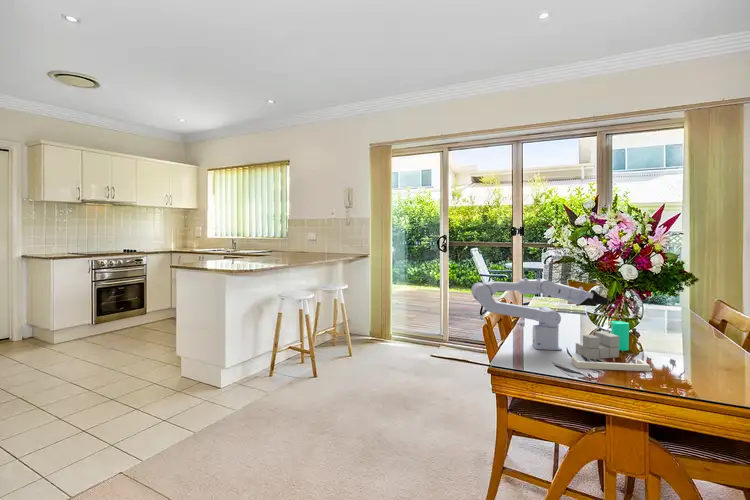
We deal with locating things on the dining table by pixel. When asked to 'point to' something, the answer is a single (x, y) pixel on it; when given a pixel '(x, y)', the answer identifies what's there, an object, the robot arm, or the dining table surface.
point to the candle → (621, 333)
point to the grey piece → (612, 365)
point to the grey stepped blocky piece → (599, 345)
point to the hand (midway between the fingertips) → (601, 302)
